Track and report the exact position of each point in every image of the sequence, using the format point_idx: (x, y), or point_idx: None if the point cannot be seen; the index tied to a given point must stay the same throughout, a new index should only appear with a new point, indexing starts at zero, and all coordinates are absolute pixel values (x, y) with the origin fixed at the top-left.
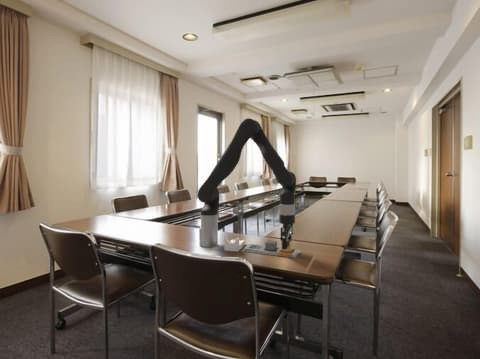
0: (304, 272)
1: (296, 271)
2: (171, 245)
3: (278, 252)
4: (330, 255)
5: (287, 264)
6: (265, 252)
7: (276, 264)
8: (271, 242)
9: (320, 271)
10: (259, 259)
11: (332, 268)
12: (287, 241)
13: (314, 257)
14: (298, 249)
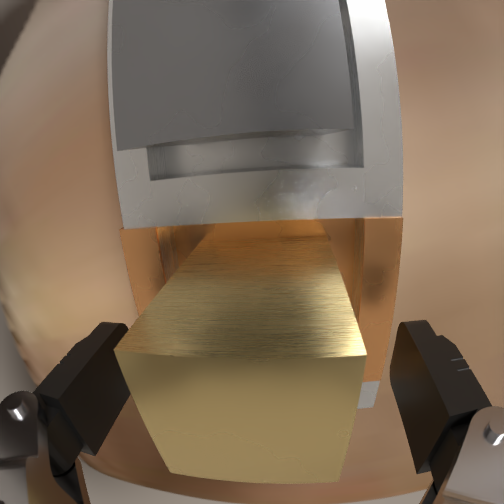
0: None
1: (39, 382)
2: None
3: (126, 238)
4: (391, 483)
5: (73, 332)
6: None
7: (29, 261)
8: (174, 50)
9: (117, 462)
10: (44, 81)
11: (186, 495)
12: (171, 445)
13: None
14: (374, 400)
